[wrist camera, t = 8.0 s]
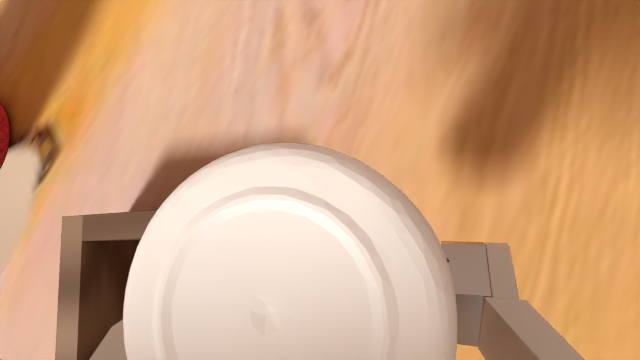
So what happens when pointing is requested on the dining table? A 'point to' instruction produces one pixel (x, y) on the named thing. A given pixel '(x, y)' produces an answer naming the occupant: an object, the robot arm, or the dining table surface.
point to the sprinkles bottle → (289, 266)
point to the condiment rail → (94, 277)
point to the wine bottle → (3, 135)
